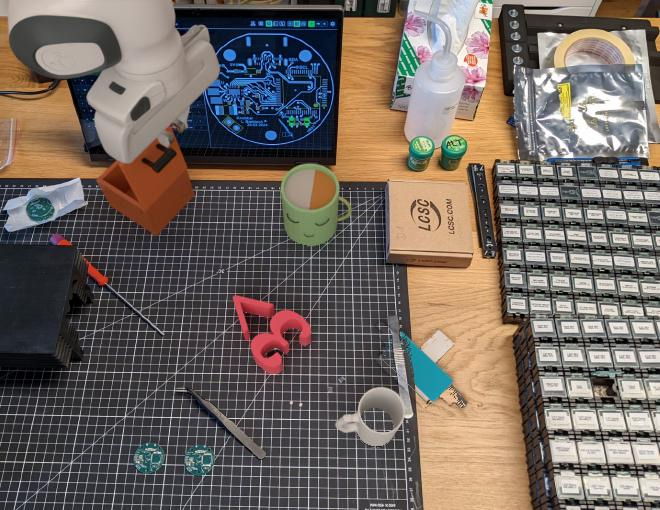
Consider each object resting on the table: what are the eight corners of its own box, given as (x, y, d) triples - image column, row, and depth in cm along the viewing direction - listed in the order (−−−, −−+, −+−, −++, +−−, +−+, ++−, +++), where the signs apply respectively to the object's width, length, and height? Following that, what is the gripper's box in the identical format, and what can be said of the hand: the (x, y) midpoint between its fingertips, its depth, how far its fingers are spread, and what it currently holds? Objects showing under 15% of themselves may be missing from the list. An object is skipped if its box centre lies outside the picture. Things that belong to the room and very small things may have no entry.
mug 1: (279, 244, 115) (276, 210, 105) (288, 197, 120) (285, 160, 109) (347, 252, 115) (350, 219, 104) (352, 204, 120) (356, 168, 109)
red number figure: (216, 326, 108) (212, 315, 103) (258, 287, 111) (256, 275, 107) (273, 381, 103) (271, 372, 99) (315, 339, 107) (315, 329, 102)
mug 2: (391, 404, 102) (399, 383, 91) (399, 445, 99) (409, 429, 88) (330, 413, 101) (332, 394, 90) (337, 455, 98) (340, 441, 87)
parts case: (110, 206, 118) (95, 180, 111) (149, 167, 123) (138, 139, 115) (156, 236, 116) (145, 211, 108) (194, 195, 120) (186, 168, 112)
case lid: (117, 163, 97) (139, 176, 95) (164, 118, 101) (186, 129, 100) (142, 209, 107) (162, 220, 106) (184, 165, 112) (203, 176, 110)
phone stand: (490, 379, 104) (493, 376, 103) (443, 428, 100) (445, 426, 99) (403, 299, 111) (404, 295, 109) (356, 343, 107) (356, 339, 105)
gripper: (185, 8, 83) (202, 81, 95) (75, 105, 75) (109, 172, 87) (223, 27, 81) (235, 99, 94) (114, 128, 73) (143, 193, 85)
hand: (174, 135), depth 90 cm, fingers closed
